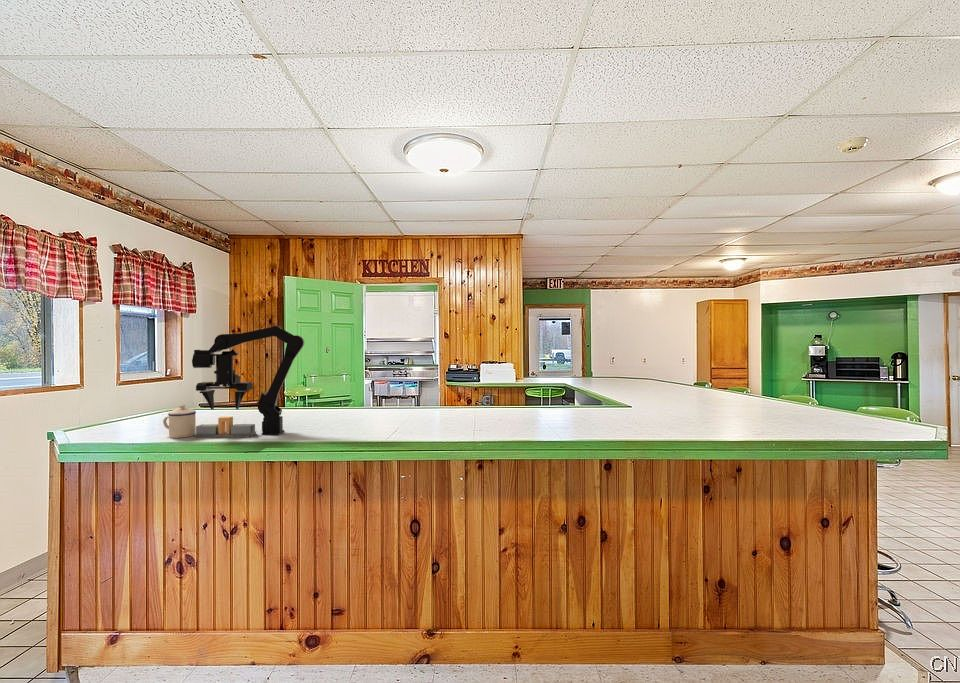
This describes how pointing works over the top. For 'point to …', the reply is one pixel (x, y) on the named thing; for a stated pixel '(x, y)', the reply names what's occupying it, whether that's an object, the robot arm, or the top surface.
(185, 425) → the teacup with lid
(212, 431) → the rail
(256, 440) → the top surface
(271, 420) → the robot arm
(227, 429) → the clip
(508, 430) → the top surface
